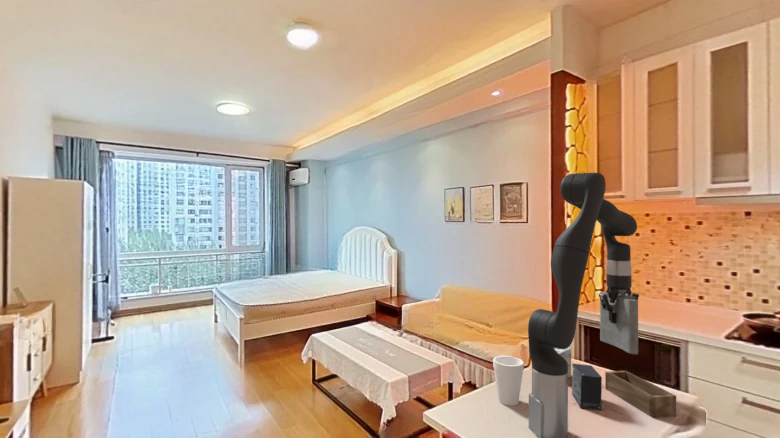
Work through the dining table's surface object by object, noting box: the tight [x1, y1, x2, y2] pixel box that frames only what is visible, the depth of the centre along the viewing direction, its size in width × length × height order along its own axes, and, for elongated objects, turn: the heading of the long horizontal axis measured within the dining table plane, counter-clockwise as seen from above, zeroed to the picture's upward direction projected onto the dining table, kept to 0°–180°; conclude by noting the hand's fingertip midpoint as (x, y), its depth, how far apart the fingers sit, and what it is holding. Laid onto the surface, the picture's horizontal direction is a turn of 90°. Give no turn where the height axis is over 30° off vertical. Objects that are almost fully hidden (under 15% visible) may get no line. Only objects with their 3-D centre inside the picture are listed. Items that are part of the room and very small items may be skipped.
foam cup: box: [492, 355, 525, 406], centre depth 124 cm, size 10×9×13 cm
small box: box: [571, 363, 603, 411], centre depth 124 cm, size 11×6×10 cm, turn 168°
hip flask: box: [599, 289, 639, 355], centre depth 132 cm, size 16×4×20 cm, turn 9°
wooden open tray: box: [604, 370, 677, 419], centre depth 124 cm, size 8×20×6 cm, turn 8°
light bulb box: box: [554, 346, 572, 378], centre depth 144 cm, size 11×7×11 cm, turn 130°
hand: (618, 322), depth 132 cm, fingers closed on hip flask, 4 cm apart
